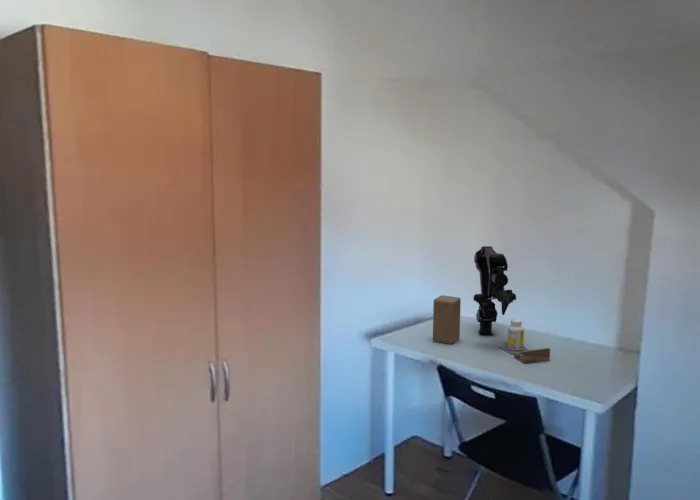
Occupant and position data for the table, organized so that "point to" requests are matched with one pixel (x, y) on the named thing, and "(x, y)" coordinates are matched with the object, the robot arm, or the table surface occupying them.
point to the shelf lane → (533, 355)
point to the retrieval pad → (512, 350)
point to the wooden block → (446, 319)
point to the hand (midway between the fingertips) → (494, 315)
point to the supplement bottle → (515, 335)
